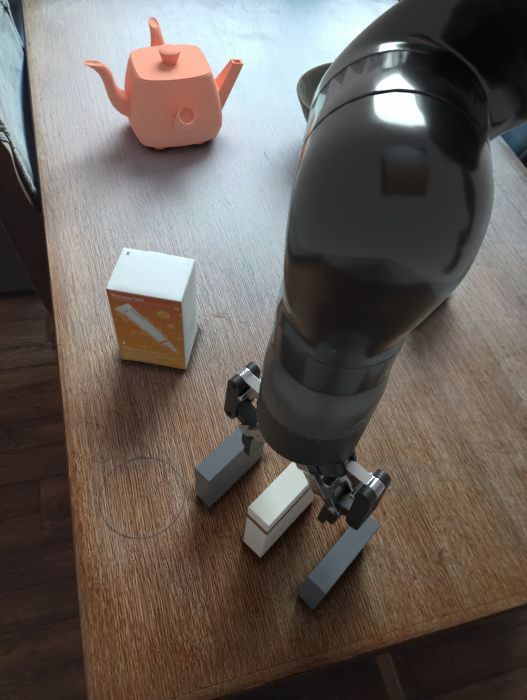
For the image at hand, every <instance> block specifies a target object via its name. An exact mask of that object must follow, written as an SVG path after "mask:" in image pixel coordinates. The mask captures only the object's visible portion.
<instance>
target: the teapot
mask: <svg viewBox="0 0 527 700" xmlns="http://www.w3.org/2000/svg"><path fill="white" fill-rule="evenodd" d="M147 22H148V28H149V35H150V46H146V47H141V48H137V49H133V50H131V51H130V53H129V55H128V58H127V64H126V68H125V69H126V70H125V75H124V85H123V86H124V87H123V89H122V88H120V87H119V86H118V85H117V84H116V80H115V77H114V75H113V72H112V71H111V69H110V67H109V66H107V64H105V63H103V62H102V61H98V60H90V59H89V60H88V59H87V60H83V61H82V64H83V65H84V66H86V67H89V68H90V69H92V70H94V71H95V72H96V73H97V74H98V75H99V77H100V79H101V81H102V83H103V85H104V88H105V92H106V95H107V97H108V100H109V102H110V104H111V106H112V107H113V108H114V109H115V111H117V112H118V113H119V114H120V115H122V116H124V117H127V120H128V121H129V124H130V126H131V129H132V130H133V132H134V135H135V136H136V138H137V139H138V141H139V143H140V144H142V145H143V146H146V147H149V148H154V149H155V150H165V149H166V148H176V147H184V146H190V145H202V144H205V143H206V142H207V141H212V140H213V139H215V138H216V137H217V136H218V134H219V132H220V131H221V128H222V126H223V109H224V107H225V105H226V103H227V100H228V98H229V96H230V94H231V92H232V91H233V88H234V86H235V84H236V81H237V79H238V77H239V75H240V73H241V71H242V69H243V66H244V62H243V60H242V59H241V58H230V59H229V61H228V62H227V64H226V65H225V66H224V67H223V68H222V69H221V71H220V72H219V74H218V75H217V76H216V77H214V74H213V71H212V68H211V66H210V63H209V61H208V59H207V57H206V55H205V54H204V52H203V50H202V49H201V48H200V47H199V46H198V45H194V44H185V43H184V44H183V43H182V44H179V43H178V44H175V43H166V42H165V40H164V36H163V33H162V28H161V25H160V23H159V21H158V20H157V18H155V17H153V16H150V17H148V21H147Z"/></svg>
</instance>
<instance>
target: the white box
mask: <svg viewBox="0 0 527 700" xmlns="http://www.w3.org/2000/svg"><path fill="white" fill-rule="evenodd" d="M320 477H321V478H322V477H323V476H322V475H320ZM315 495H316V494H314V493H313V492H312V490H311V488H310V486H309V484H308V482H307V480H306V478H305V476H304V473H303V471H301V470H299V469H298V468H297V466H296V464H295V463H294V462H292V461H291V462H290V464H288V465H287V467H285V468H284V469H283V471H282V472H281V473H280V474H279V475H278V476H277V477H276V478H275V479H274V480H273V481H272V482H271V483H270V484H269V485H268V486H267V487H266V488H265V489H264V490H263V491H262V492H261V493H260V494H259V495H258V496H257V498H255V499H254V500H253V501H252V502H251V503H250V505H249V506H248V507H247V512H246V516H245V517H246V522H245V527H244V534H243V542H244V543H245V544H246V545H247V547H249V548H250V549H251V551H253V552H254V553H255V554H256V555H257V556H258V558H262V557H263V556H264V555H265V554H266V552H268V551H269V549H271V547H272V546H273V545H274V544H275V543H276V542H277V540H278V539H279V538H280V537H282V535H283V534H284V533H285V532H286V531H287V529H289V527H290V526H291V525H292V524H293V523H294V522H295V521H296V519H298V517H299V516H300V515H302V513H303V512H304V511H305V510H306V508H308V506H310V504H311V503H312V502H313V500H314V497H315Z"/></svg>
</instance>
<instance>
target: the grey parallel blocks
mask: <svg viewBox="0 0 527 700" xmlns="http://www.w3.org/2000/svg"><path fill="white" fill-rule="evenodd" d="M264 446H265V443H264V444H263V445H262V446H261V447H260V448H259V449H258V450H257V451H256V452H255V453H254V454H253V455H252V456H250V457H249V456H248V455H247V454H246V453H245V452H244V445H243V443H242V432H241V431H240V429H239V427H238V428H237V429H236V430H234V431H233V432H232V433H231V434H230V435H229V436H228V437H227V438H226V439H224V440H223V441H222V442H221V443H220V444H219V445H218V446H217V447H216V448H215V449H213V450H212V451H211V452H210V453H209V454H208V455H207V456H206V457H205V458H203V459H202V460H201V461H200V462H198V464H197V465H196V466H195V467H194V480H195V494H196V496H197V497H198V498H199V499H200V500H201V501H202V502H203V503H204V504H205V505H206V506H207V507H208V508H211V507H212V506H213V505H214V504H215V503H216V502H217V501H218V500H219V499H220V498H221V497H222V496H223V495H224V494H225V493H226V492H228V490H229V489H231V487H232V486H233V485H234V484H236V482H238V480H240V478H242V477H243V476H244V474H246V472H248V471H249V470H250V469H251V468H252V467H253V466H254V465H255V464H256V463H257V462H258V461H259V460H260V459H261V458H262V456H263V452H264ZM380 528H381V525H380V524H379V523H378V522H377V521H376V520H374V518H372V517H371V515H370V516H369V517H368V518H367V520H366V521H365V522H364V523H363V524H362V526H361V527H360V528H359V529H358V530H354V529H353V528H351V527H350V526H348V528H347V530H345V532H344V533H342V535H341V536H340V537H339V538H338V540H337V541H336V542H335V544H334V545H333V546H332V547H331V548H330V549H329V551H328V552H327V553H326V554H325V556H324V557H323V558H322V559H321V561H320V562H319V563H318V564H317V565H316V566H315V568H314V569H313V570H312V571H311V573H309V575H308V576H307V578H306V579H305V580H304V583H303V584H302V586H301V588H300V589H299V591H298V592H297V595H298V597H300V598H301V599H302V600H303V601H304V602H305V603H306V604H307V605H308V606H309V607H310V608H311V609H312V610H315V609H316V608H317V606H318V605H319V604H320V602H321V601H322V600H323V599H324V598H325V597H326V596H327V594H328V593H329V592H330V591H331V589H332V588H333V586H334V585H335V584H336V583H337V582H338V580H339V579H340V578H341V576H343V574H344V573H345V572H346V571H347V569H348V567H350V565H351V564H352V563H353V562H354V561H355V559H356V558H357V557H358V555H359V554H360V553H361V552H362V550H363V549H364V548H365V546H366V545H367V544H368V543H369V541H370V540H371V539H372V538H373V536H374V535H375V534H376V533H377V531H379V530H380Z"/></svg>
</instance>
